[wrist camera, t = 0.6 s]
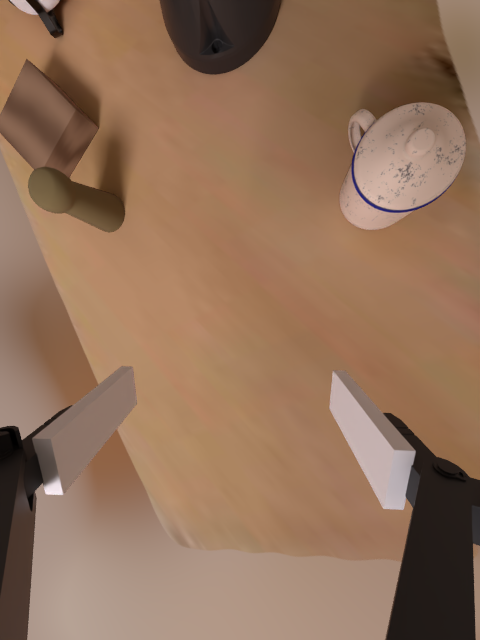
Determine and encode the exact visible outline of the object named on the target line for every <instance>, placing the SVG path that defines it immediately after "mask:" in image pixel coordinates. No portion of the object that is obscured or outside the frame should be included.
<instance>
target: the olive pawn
mask: <svg viewBox="0 0 480 640" xmlns="http://www.w3.org/2000/svg"><path fill="white" fill-rule="evenodd" d="M28 188H29V193H30V196H31V198H32V199H33V201H34V202H35V203H36V204H37V205H38V206H39V207H41V208H42V209H44V210H46V211H49V212H52V213H67V214H69V215H71V216H73V217H75V218H77V219H79V220H82V221H84V222H86V223H88V224H90V225H92V226H94V227H96V228H98V229H101V230H103V231H106V232H114V231H116V230H117V229H119V227H120V226H121V225H122V223H123V221H124V216H125V211H124V206H123V204H122V202H121V200H120V199H119V198H118V197H117V196H115V195H114V194H111V193H107V192H104V191H101V190H98V189H95V188H92V187H89V186H86V185H82V184H79V183H76V182H73V181H71V180H70V179H69V177H67V176H66V175H65V174H64V173H62V172H61V171H59V170H57V169H55V168H50V167H40V168H37V169H35V170H34V171H33V172H32V174H31V175H30V178H29V183H28Z"/></svg>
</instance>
